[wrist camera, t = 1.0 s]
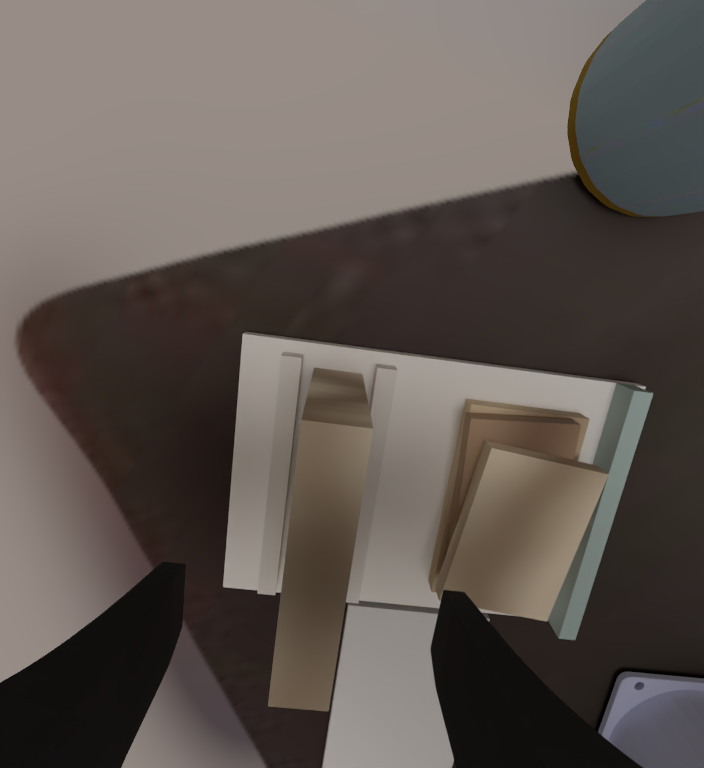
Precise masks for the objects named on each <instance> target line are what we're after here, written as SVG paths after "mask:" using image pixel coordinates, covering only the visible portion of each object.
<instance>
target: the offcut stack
mask: <svg viewBox="0 0 704 768" xmlns="http://www.w3.org/2000/svg"><path fill="white" fill-rule="evenodd" d="M589 420H590V419H589V418H587V417H585V416H584V415H582V414H581V413H575V412H567V411H560V410H552V409H544V408H536V407H528V406H520V405H512V404H504V403H497V402H489V401H481V400H473V399H466V401H465V406H464V411H463V416H462V420H461V425H460V430H459V435H458V440H457V444H456V449H455V454H454V459H453V463H452V468H451V473H450V478H449V482H448V487H447V492H446V497H445V502H444V506H443V511H442V516H441V521H440V525H439V530H438V535H437V540H436V544H435V549H434V554H433V559H432V564H431V568H430V573H429V578H428V582H429V585H430V589H431V592H437V596H438V599H439V601H441V598H442V594H443V590H450V591H461V592H465V593H466V594H467V596H468V597H469V598H470V599H471V600H472V602H473V603H474V604H475V605H476V606H477V608H479V609H485V610H490V611H495V612H500V613H505V614H510V615H515V616H521V617H526V618H531V619H536V620H541V621H546V622H547V620H548V618H549V615H550V613H551V611H552V608H553V606H554V603H555V601H556V599H557V596H558V594H559V592H560V589H561V587H562V584H563V582H564V580H565V577H566V575H567V573H568V570H569V568H570V565H571V563H572V561H573V558H574V556H575V554H576V551H577V549H578V547H579V544H580V542H581V539H582V537H583V535H584V532H585V530H586V528H587V525H588V523H589V520H590V518H591V516H592V513H593V511H594V509H595V506H596V504H597V501H598V499H599V497H600V494H601V492H602V490H603V487H604V485H605V482H606V480H607V478H608V475H609V474H608V473H606V472H605V471H604V470H603V469H601V468H600V467H599V466H597V465H593V464H588V463H584V462H579V461H578V459H579V455H580V452H581V448H582V445H583V441H584V438H585V434H586V431H587V427H588V424H589Z"/></svg>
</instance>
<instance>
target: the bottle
mask: <svg viewBox="0 0 704 768" xmlns="http://www.w3.org/2000/svg"><path fill="white" fill-rule="evenodd" d="M568 140H569V146H570V152H571V158H572V161H573V164H574V166H575V168H576V170H577V172H578V174H579V176H580V178H581V180H582V182H583V184H584V185H585V187H586V188H587V189H588V190H589V191H590V192H591V193H592V194H593V195H594V196H595V197H596V198H597V199H598V200H599V201H601V202H602V203H603V204H604V205H606V206H607V207H609V208H611V209H613V210H616V211H619V212H621V213H624V214H626V215H629V216H634V217H659V216H673V215H680V214H686V213H693V212H700V211H704V0H646V1H645V2H644V3H643V4H642V5H641V6H639V7H638V8H637V9H636V10H635V11H634V12H632V13H631V14H630V15H629V16H628V17H627V18H625V19H624V20H623V21H622V22H621V23H620V24H619V25H618V26H617V27H616V28H615V29H614V30H613V31H612V32H610V33H609V35H607V36H606V37H605V38H604V39H603V41H602V42H601V43H600V45H599V46H598V47H597V48H596V50H595V51H594V52H593V54H592V55H591V56H590V58H589V59H588V60H587V62H586V64H585V65H584V67H583V69H582V72H581V74H580V76H579V79H578V82H577V84H576V86H575V89H574V91H573V94H572V98H571V102H570V111H569V118H568Z"/></svg>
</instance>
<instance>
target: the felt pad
mask: <svg viewBox="0 0 704 768" xmlns="http://www.w3.org/2000/svg"><path fill="white" fill-rule="evenodd" d="M438 612H439V608H431V607H420V606H410V605H400V604H390V603H380V602H370V601H360V600H359V603H349V602H348V606H347V612H346V618H345V625H344V631H343V637H342V643H341V650H340V656H339V662H338V668H337V675H336V681H335V687H334V693H333V700H332V706H331V712H330V718H329V724H328V731H327V737H326V743H325V749H324V756H323V762H322V768H452V765H453V761H454V758H453V754H452V750H451V746H450V742H449V738H448V734H447V731H446V727H445V723H444V719H443V715H442V711H441V707H440V703H439V699H438V695H437V691H436V686H435V680H434V673H433V666H432V658H431V651H430V648H431V643H432V639H433V634H434V630H435V625H436V621H437V616H438ZM482 614H483V615H484V616H485V618H486V619H487V620H488V621H490V618H489V616H488V614H487V613H482Z"/></svg>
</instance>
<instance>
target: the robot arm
mask: <svg viewBox="0 0 704 768" xmlns="http://www.w3.org/2000/svg"><path fill="white" fill-rule="evenodd" d="M184 584H185V564H178V563H168V562H162V563H161V564H160V565H158V566H157V567H156V568H155V569H154V570H152V571H151V572H150V573H149V574H148V575H147V576H146V577H145V578H143V579H142V580H141V581H140V582H139V583H138V584H137V585H136V586H134V587H133V588H132V589H131V590H130V591H129V592H127V593H126V594H125V595H124V596H123V597H122V598H120V599H119V600H118V601H117V602H115V603H114V604H113V605H112V606H111V607H109V608H108V609H107V610H106V611H105V612H103V613H102V614H101V615H100V616H98V617H97V618H96V619H95V620H93V621H92V622H91V623H89V624H88V625H87V626H85V627H84V628H83V629H81V630H80V631H79V632H77V633H76V634H75V635H73V636H72V637H71V638H70V639H68V640H67V641H65V642H64V643H62V644H61V645H60V646H58V647H57V648H55V649H54V650H52V651H51V652H49V653H48V654H47V655H45V656H44V657H42V658H41V659H39V660H38V661H36V662H34V663H33V664H31V665H30V666H28V667H26V668H25V669H23V670H21V671H20V672H18V673H17V674H15V675H13V676H11V677H9V678H8V679H6V680H4V681H3V682H1V683H0V768H121V767H122V764H123V762H124V760H125V757H126V755H127V753H128V751H129V749H130V747H131V745H132V742H133V740H134V738H135V736H136V734H137V732H138V730H139V727H140V725H141V723H142V721H143V719H144V717H145V715H146V713H147V711H148V709H149V707H150V704H151V702H152V700H153V698H154V696H155V694H156V692H157V690H158V687H159V685H160V683H161V681H162V679H163V677H164V674H165V672H166V670H167V668H168V666H169V663H170V660H171V657H172V655H173V652H174V649H175V646H176V643H177V640H178V637H179V634H180V632H181V629H182V622H183V603H184ZM430 651H431V658H432V666H433V673H434V680H435V686H436V691H437V695H438V699H439V703H440V707H441V711H442V715H443V719H444V723H445V727H446V731H447V734H448V738H449V742H450V746H451V750H452V754H453V758H454V761H455V765H456V768H704V679H703V678H692V677H681V676H670V675H659V674H649V673H638V672H623V673H621V674H620V675H619V676H618V677H617V679H616V682H615V685H614V688H613V691H612V694H611V696H610V699H609V702H608V705H607V708H606V711H605V713H604V716H603V719H602V722H601V725H600V727H599V730H598V732H597V731H596V730H594V729H593V728H592V727H591V726H590V725H588V724H587V723H586V722H585V721H584V720H583V719H581V718H580V717H579V716H578V715H577V714H576V713H575V712H574V711H573V710H572V709H570V708H569V707H568V706H567V705H566V704H565V703H564V702H563V701H562V700H561V699H560V698H559V697H557V696H556V695H555V694H554V693H553V692H552V691H551V690H550V689H549V688H548V687H547V686H546V685H545V684H544V683H543V682H542V681H541V680H540V679H539V678H538V677H537V676H536V675H535V673H534V672H533V671H532V670H531V669H530V668H529V667H528V666H527V665H526V664H525V663H524V662H523V661H522V660H521V659H520V657H519V656H518V655H517V654H516V653H515V652H514V651H513V650H512V648H511V647H510V646H509V645H508V644H507V643H506V642H505V640H504V639H503V638H502V637H501V636H500V634H499V633H498V632H497V631H496V630H495V629H494V627H493V626H492V625H491V624H490V622H489V621H488V620H487V619H486V618H485V616H484V615H483V614H482V613H481V611H480V610H479V609H478V608H477V606H476V605H475V604H474V603H473V602H472V600H471V599H470V598H469V597H468V596H467V594H466V593H465V592H461V591H450V590H443V594H442V598H441V603H440V607H439V612H438V616H437V621H436V625H435V630H434V634H433V639H432V643H431V648H430Z"/></svg>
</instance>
